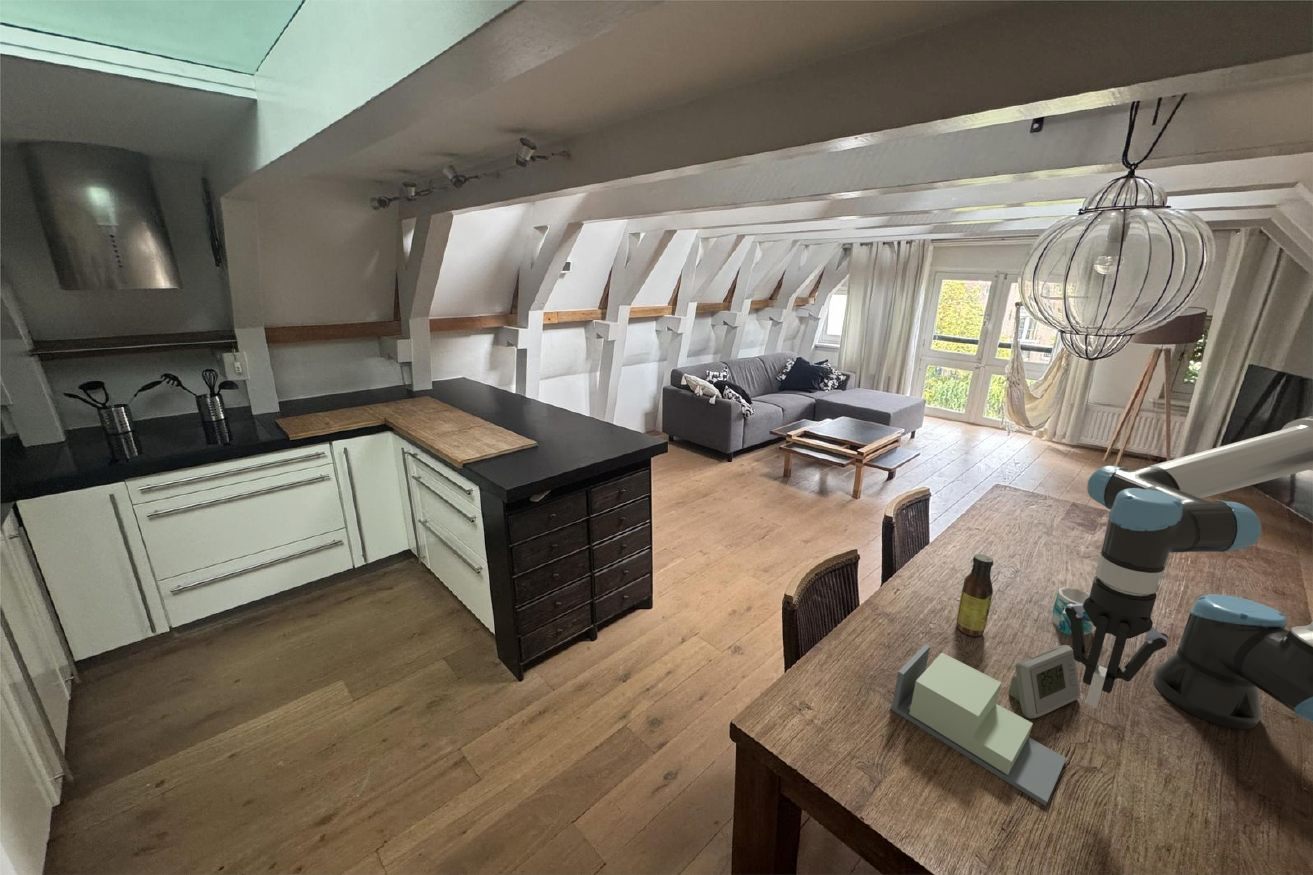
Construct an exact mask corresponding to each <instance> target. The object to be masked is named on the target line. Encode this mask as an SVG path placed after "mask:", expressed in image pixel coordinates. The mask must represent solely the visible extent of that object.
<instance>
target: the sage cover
mask: <svg viewBox="0 0 1313 875" xmlns="http://www.w3.org/2000/svg"><path fill="white" fill-rule="evenodd" d="M1001 687H1002V682H1001V681H999V680H997V679H995V678H993V677H991V676H989V675H987V674H985V673H983V672H982V671H979V670H977V669H976V668H973V667H971V666H969V665H967V664H965V663H963V662H962V661H959V660H958V659H956V658H954V657H952V656H950V655H948V654H946V653H943V652H941V653H940V654H939V655H938V656H937V657H936V658H935V659H934V660H933V662H931V664H930V665H929V666H928V667H926V670H925V671H924V673H923V674H922V675H921V676H920V677H919V678H918V679H917V680H916V683H915V688H914V693H913V698H912V703H911V708H910V713H909V714H910V715H912V716H913V717H915V718H916V719H918V720H920V721H921V722H923V723H925V724H926V725H928V726H929V727H931V728H933V729H934V730H936V731H937V732H939V733H941V734H942V735H944V736H946V737H947V738H949V739H950V740H952V741H954V742H955V743H957V744H959V745H960V746H962V747H963V748H965V749H967V750H968V751H970V752H972V753H973V754H975V755H976V756H978V757H980V758H981V759H983V760H984V761H986V762H988V763H989V764H991V765H993V766H994V767H996V768H997V769H999V770H1001V771H1002V772H1004V773H1006V774H1007V775H1008V774H1009V772H1010V770H1011V769H1012V767H1013V765H1014V763H1015V761H1016V759H1017V758H1018V756H1019V754H1020V752H1021V750H1022V748H1023V746H1024V745H1025V743H1026V741H1027V739H1028V737H1029V738H1030V735H1031V730H1032V728H1033V724H1034V723H1033V722H1031V721H1030V720H1028V719H1025V718H1024V717H1022V716H1020V715H1018V714H1017V713H1015V712H1014V711H1010V710H1009V709H1007V708H1004V707H1003V706H1001V705H999V704H997V701H998V699H999V698H998V697H999V693H1000V689H1001Z"/></svg>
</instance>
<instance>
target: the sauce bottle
mask: <svg viewBox="0 0 1313 875" xmlns="http://www.w3.org/2000/svg"><path fill="white" fill-rule="evenodd" d="M972 562H973V563H972V569H971V570H970V571H971V572H970V573H969V574H968V575H967V576H966V577H965V578H964V581H963V586H962V588H961V592H960V598H959V604H958V609H957V614H956V628H957V630H958V631H961V632H962V633H963V634H966V635H968V636H971V637H980V636H983V635H984V632H985V630H986V627H987V622H988V617H989V613H990V608H991V604H992V603H991V602H992V599H993V596H994V594H993V593H994V588H993V585H992V579H991V572H992V567H993V566H994V559H993V557H990V556H989V555H987V554H982V553H976V554H974V555H973V558H972Z"/></svg>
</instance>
